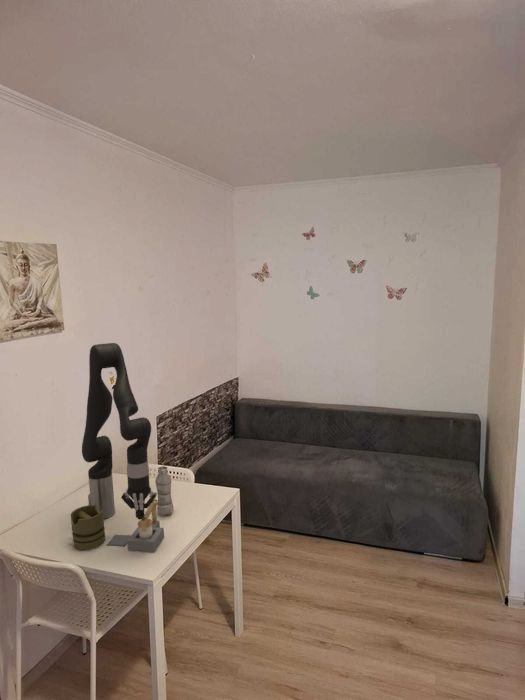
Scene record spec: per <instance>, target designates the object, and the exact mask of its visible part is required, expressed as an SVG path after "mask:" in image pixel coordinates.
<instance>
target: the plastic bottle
mask: <svg viewBox="0 0 525 700" xmlns="http://www.w3.org/2000/svg"><path fill="white" fill-rule="evenodd" d="M168 472H169V470H168V467H167V466H164V465H163V466H159V467H158V468H157V473H158V474H157V476H156V477H155V480H154V482H155V486H156V493H157V501H158V505H157V506H156V510H157V514H159V515H160V516H169V515H172V513H173V512H174V503H173V499H172V492H171V491H172V477H171V475H170V474H169V473H168Z"/></svg>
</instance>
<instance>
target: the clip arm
mask: <svg viewBox="0 0 525 700" xmlns="http://www.w3.org/2000/svg"><path fill="white" fill-rule="evenodd" d="M157 505H158V499H154V500H153V502H152V503H151V504H150V505H149V507H148V508H146V511H145V512H144V516H143V518H142V519H140V520H141V529H142V532H146V522H147V520H148V519H150V516H151V515H152V511H153V509H154V507H155V506H156V507H157Z"/></svg>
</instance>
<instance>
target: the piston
mask: <svg viewBox="0 0 525 700" xmlns="http://www.w3.org/2000/svg"><path fill="white" fill-rule="evenodd" d="M70 522H71V523H70V524H71V532H72V533H71V534H72V543H73V546H72V547H73V548H74V549H75V550H77V551H80V552H81V551H82V552H84V551H91V550H95V549H97V548H99V547H101V546H102V545H103V544H104V543H105V542H106V532H105V531H106V529H105V519H104V516H103V510H101V512H99V511H98V510H97V508H96V505H89V504H88V505H83V506H80V507H77V508H75V509H74V510H73V511H71V513H70Z"/></svg>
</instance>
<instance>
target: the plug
mask: <svg viewBox="0 0 525 700" xmlns="http://www.w3.org/2000/svg"><path fill="white" fill-rule="evenodd" d="M141 520H142V519H139V521H138V522H137V527H138V526H139V538H146V539H151V537H152V536H153V533H152V519H150V518H148V520H147V522H146V532H142V529H141Z"/></svg>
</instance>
